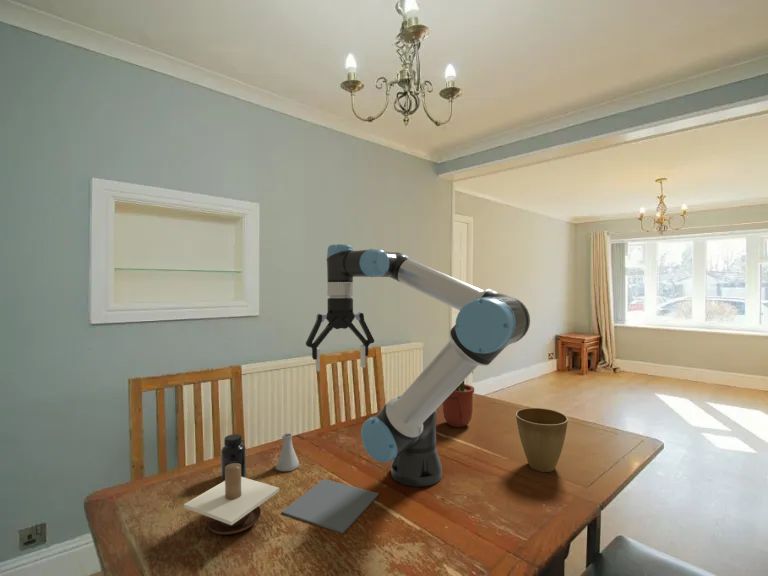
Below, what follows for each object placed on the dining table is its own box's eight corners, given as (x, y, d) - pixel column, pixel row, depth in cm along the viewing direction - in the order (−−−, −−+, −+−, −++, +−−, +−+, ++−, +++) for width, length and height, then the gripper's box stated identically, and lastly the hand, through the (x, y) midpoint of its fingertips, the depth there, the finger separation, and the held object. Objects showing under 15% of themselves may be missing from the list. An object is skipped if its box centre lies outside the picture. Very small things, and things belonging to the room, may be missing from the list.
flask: (293, 473, 117) (293, 440, 117) (271, 471, 119) (270, 438, 119) (303, 462, 125) (302, 431, 124) (282, 460, 126) (281, 429, 126)
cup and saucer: (228, 547, 85) (228, 519, 85) (196, 528, 92) (195, 502, 92) (271, 518, 95) (271, 493, 95) (239, 504, 102) (239, 480, 102)
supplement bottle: (225, 472, 119) (225, 432, 118) (248, 470, 119) (248, 431, 119) (218, 483, 112) (217, 442, 112) (242, 482, 112) (242, 441, 112)
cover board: (279, 491, 96) (279, 459, 96) (231, 525, 83) (230, 489, 83) (235, 477, 103) (234, 448, 103) (183, 507, 90) (183, 474, 89)
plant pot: (523, 452, 131) (523, 404, 131) (571, 463, 123) (572, 413, 122) (509, 469, 119) (509, 417, 119) (562, 484, 110) (562, 427, 110)
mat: (378, 494, 105) (378, 493, 105) (342, 533, 89) (342, 531, 89) (323, 480, 113) (323, 478, 113) (281, 513, 97) (281, 511, 97)
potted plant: (477, 430, 150) (477, 339, 149) (437, 430, 150) (436, 340, 149) (468, 415, 167) (468, 333, 167) (432, 415, 167) (431, 334, 167)
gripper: (376, 296, 123) (377, 363, 123) (295, 297, 115) (296, 369, 116) (384, 296, 116) (384, 368, 116) (298, 298, 108) (299, 374, 108)
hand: (340, 368), depth 116 cm, fingers open, 13 cm apart
